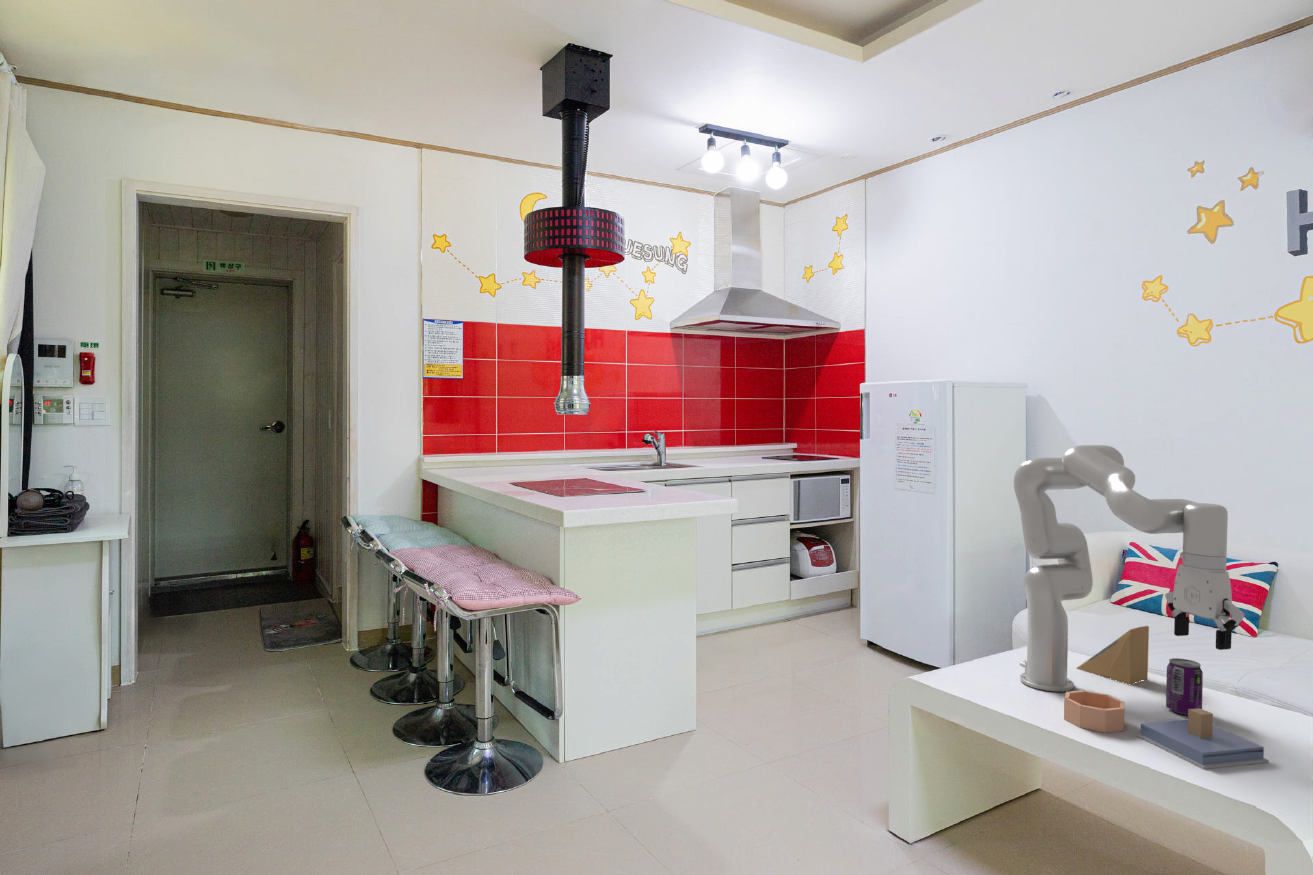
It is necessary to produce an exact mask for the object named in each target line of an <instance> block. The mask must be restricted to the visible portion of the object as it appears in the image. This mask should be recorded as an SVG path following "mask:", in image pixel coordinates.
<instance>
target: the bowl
mask: <svg viewBox="0 0 1313 875" xmlns="http://www.w3.org/2000/svg"><path fill="white" fill-rule="evenodd" d="M1063 704H1064V706H1063V708H1064V709H1063V710H1064V711H1063V720H1064V721H1067V722H1069V723H1071V724H1072V723H1073V725H1075V726H1076V727H1078V728H1080V727H1082V729H1085V728H1086V730H1090V729H1092V730H1091V731H1096V732H1101V733H1105V732H1106V733H1115V732H1125V719H1126V718H1125V714H1126V709H1125V708H1126V705H1125V704H1126V702H1125V701H1123V700H1121V699H1118V698H1116V697H1114V696H1113V695H1110V694H1108V693H1107V694H1106V693H1100V692H1095V691H1090V690H1085V689H1084V690H1083V689H1082V690H1074V691H1073V690H1069V691H1065V696H1064V700H1063Z"/></svg>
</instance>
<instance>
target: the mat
mask: <svg viewBox="0 0 1313 875" xmlns="http://www.w3.org/2000/svg"><path fill="white" fill-rule="evenodd" d="M1140 734H1141V733H1137V735H1136V737H1138V738H1140V739H1142V738H1143V739H1142V740H1144V741H1146V740H1147V741H1146V742H1148V743H1150V742H1151V743H1150V744H1152V745H1154V746H1156V745H1157V746H1156V747H1158V748H1160V749H1162V750H1164V749H1165V750H1164V751H1166V752H1168V751H1169V752H1168V753H1170V754H1172V753H1173V754H1172V755H1174V756H1176V755H1177V756H1176V757H1178V758H1180V759H1182V760H1183V761H1186V762H1188V763H1190V764H1191V765H1194V766H1197V767H1199V768H1200V769H1201V770H1202V769H1203V770H1207V769H1208V770H1209V769H1218V768H1229V767H1238V766H1248V765H1255V764H1266V763H1270V762H1269V759H1268V758H1265V757H1264V759H1258V760H1248V761H1239V762H1229V763H1219V764H1209V765H1201V764H1199V763H1197V762H1195V761H1193V760H1191V759H1189V758H1187V757H1185V756H1183V755H1181V754H1179V753H1177V752H1175V751H1173V750H1171V749H1169V748H1167V747H1165V746H1163V745H1161V744H1159V743H1156V742H1154V741H1152V740H1150V739H1148V738H1146V737H1144V736H1142V735H1140Z"/></svg>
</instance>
